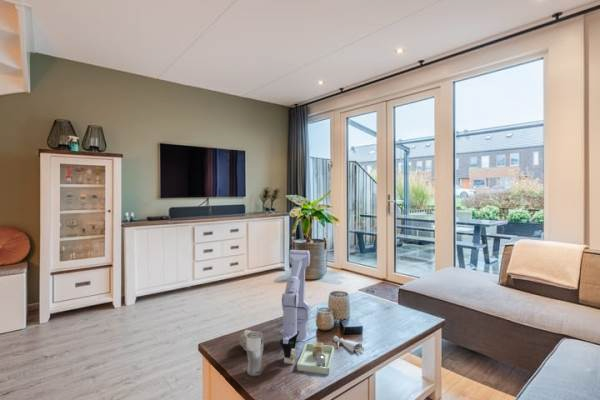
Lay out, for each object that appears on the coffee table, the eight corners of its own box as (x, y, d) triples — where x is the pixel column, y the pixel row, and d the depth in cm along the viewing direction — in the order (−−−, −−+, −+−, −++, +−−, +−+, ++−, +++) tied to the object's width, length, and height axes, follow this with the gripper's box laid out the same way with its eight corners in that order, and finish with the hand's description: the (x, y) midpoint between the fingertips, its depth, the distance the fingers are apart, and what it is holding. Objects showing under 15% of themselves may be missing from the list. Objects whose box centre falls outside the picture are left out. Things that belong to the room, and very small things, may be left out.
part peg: (316, 365, 130) (316, 353, 130) (325, 366, 129) (325, 354, 129) (314, 370, 126) (314, 358, 126) (324, 371, 125) (324, 359, 125)
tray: (306, 349, 143) (306, 342, 143) (334, 352, 140) (334, 346, 140) (296, 371, 126) (296, 364, 126) (328, 376, 123) (328, 368, 123)
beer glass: (255, 364, 131) (255, 329, 130) (267, 370, 126) (267, 334, 126) (242, 372, 125) (242, 335, 125) (254, 378, 121) (254, 340, 120)
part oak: (312, 357, 135) (312, 346, 135) (314, 352, 139) (314, 341, 139) (321, 358, 134) (321, 347, 134) (323, 354, 138) (323, 342, 138)
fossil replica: (256, 340, 152) (236, 347, 147) (254, 323, 152) (234, 329, 147) (265, 350, 141) (244, 357, 137) (263, 331, 141) (242, 338, 137)
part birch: (286, 359, 135) (286, 347, 135) (295, 360, 134) (295, 349, 134) (284, 364, 131) (284, 352, 131) (293, 365, 130) (293, 353, 130)
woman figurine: (352, 349, 135) (325, 336, 150) (353, 359, 135) (325, 346, 150) (370, 341, 142) (342, 330, 157) (370, 351, 142) (342, 339, 157)
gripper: (285, 313, 140) (285, 343, 141) (275, 327, 126) (275, 360, 126) (300, 315, 139) (300, 345, 139) (292, 329, 124) (292, 362, 125)
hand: (289, 352), depth 133 cm, fingers open, 7 cm apart
